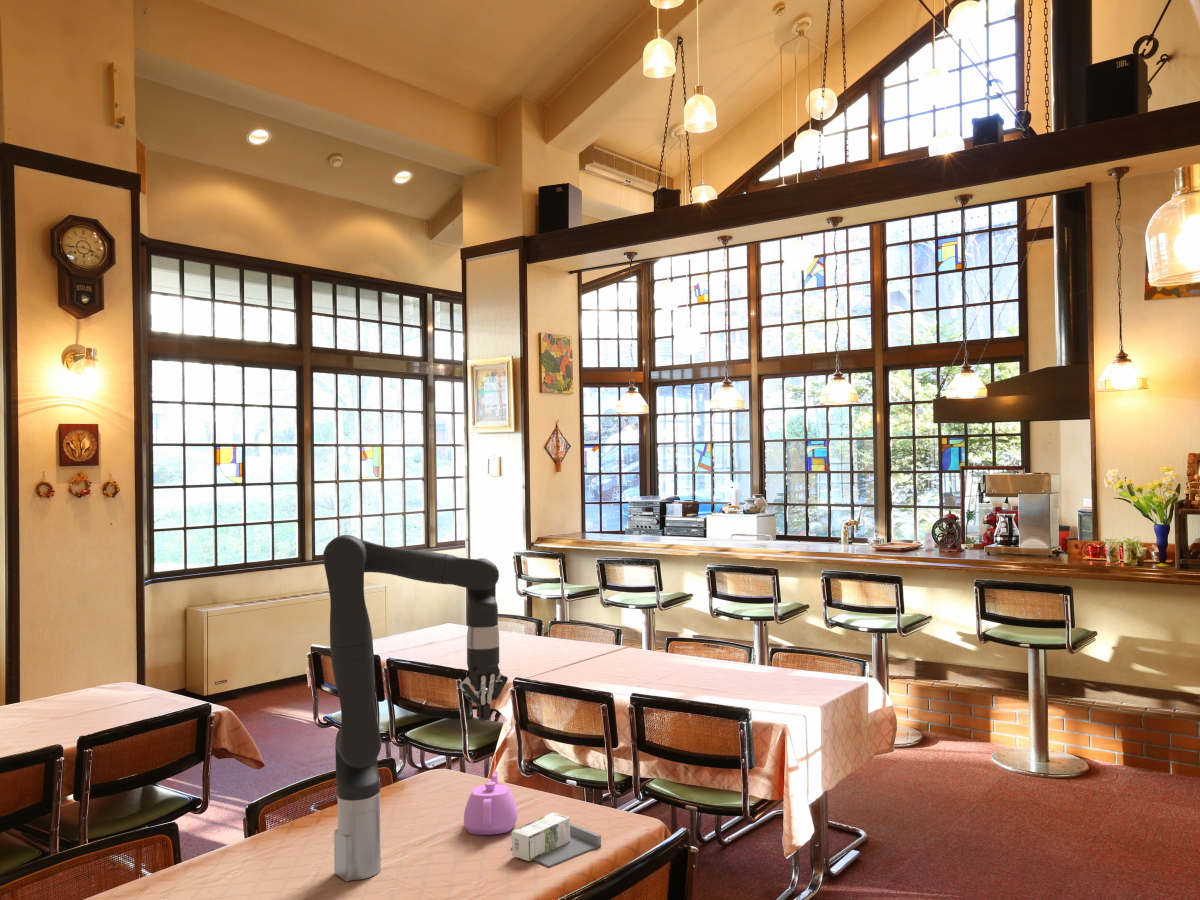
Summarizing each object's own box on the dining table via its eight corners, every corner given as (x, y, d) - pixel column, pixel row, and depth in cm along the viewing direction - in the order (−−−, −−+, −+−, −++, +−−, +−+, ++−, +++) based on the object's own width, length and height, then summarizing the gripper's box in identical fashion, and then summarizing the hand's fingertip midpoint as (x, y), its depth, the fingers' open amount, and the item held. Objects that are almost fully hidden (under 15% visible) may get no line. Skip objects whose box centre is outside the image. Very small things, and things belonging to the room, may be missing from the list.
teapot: (520, 811, 227) (520, 768, 228) (513, 842, 207) (513, 795, 208) (470, 812, 227) (469, 769, 228) (458, 843, 207) (457, 796, 208)
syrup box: (511, 856, 198) (553, 835, 210) (529, 862, 195) (571, 840, 206) (510, 830, 199) (552, 811, 210) (529, 836, 195) (571, 816, 206)
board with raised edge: (548, 867, 193) (548, 856, 193) (511, 849, 203) (510, 838, 203) (601, 846, 203) (600, 835, 204) (562, 830, 214) (562, 819, 214)
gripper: (467, 650, 194) (468, 728, 193) (515, 643, 203) (516, 717, 202) (450, 646, 199) (450, 722, 199) (497, 639, 208) (497, 712, 207)
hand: (483, 719), depth 200 cm, fingers closed
